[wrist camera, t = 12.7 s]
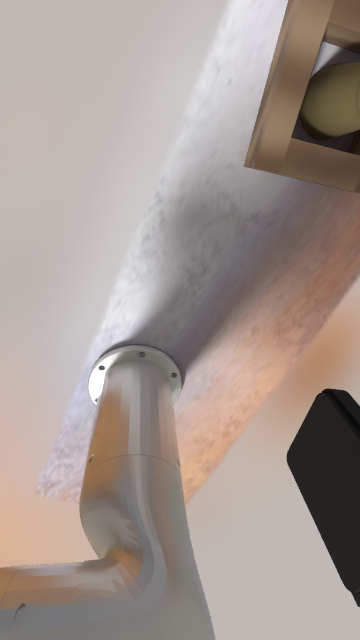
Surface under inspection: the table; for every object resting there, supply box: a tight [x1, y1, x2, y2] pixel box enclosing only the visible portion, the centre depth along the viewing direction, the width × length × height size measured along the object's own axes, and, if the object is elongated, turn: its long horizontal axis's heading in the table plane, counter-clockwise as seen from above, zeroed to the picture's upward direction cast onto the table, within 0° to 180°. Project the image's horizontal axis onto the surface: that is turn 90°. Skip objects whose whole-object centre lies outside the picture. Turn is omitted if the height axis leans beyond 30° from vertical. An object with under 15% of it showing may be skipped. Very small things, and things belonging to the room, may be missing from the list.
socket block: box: [244, 0, 360, 193], centre depth 29 cm, size 14×13×4 cm
